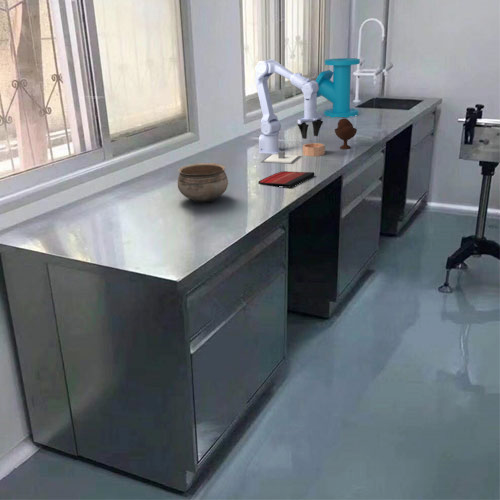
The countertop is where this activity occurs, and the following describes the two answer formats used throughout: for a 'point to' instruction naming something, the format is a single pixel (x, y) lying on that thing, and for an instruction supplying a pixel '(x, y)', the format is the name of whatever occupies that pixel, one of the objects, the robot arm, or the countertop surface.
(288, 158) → the cover sheet
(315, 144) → the dish
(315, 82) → the robot arm
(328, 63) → the pipe fitting
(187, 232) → the countertop surface
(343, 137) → the ice cream bowl
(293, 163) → the mat
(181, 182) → the cooking pot
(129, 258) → the countertop surface
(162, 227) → the countertop surface
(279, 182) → the binder
